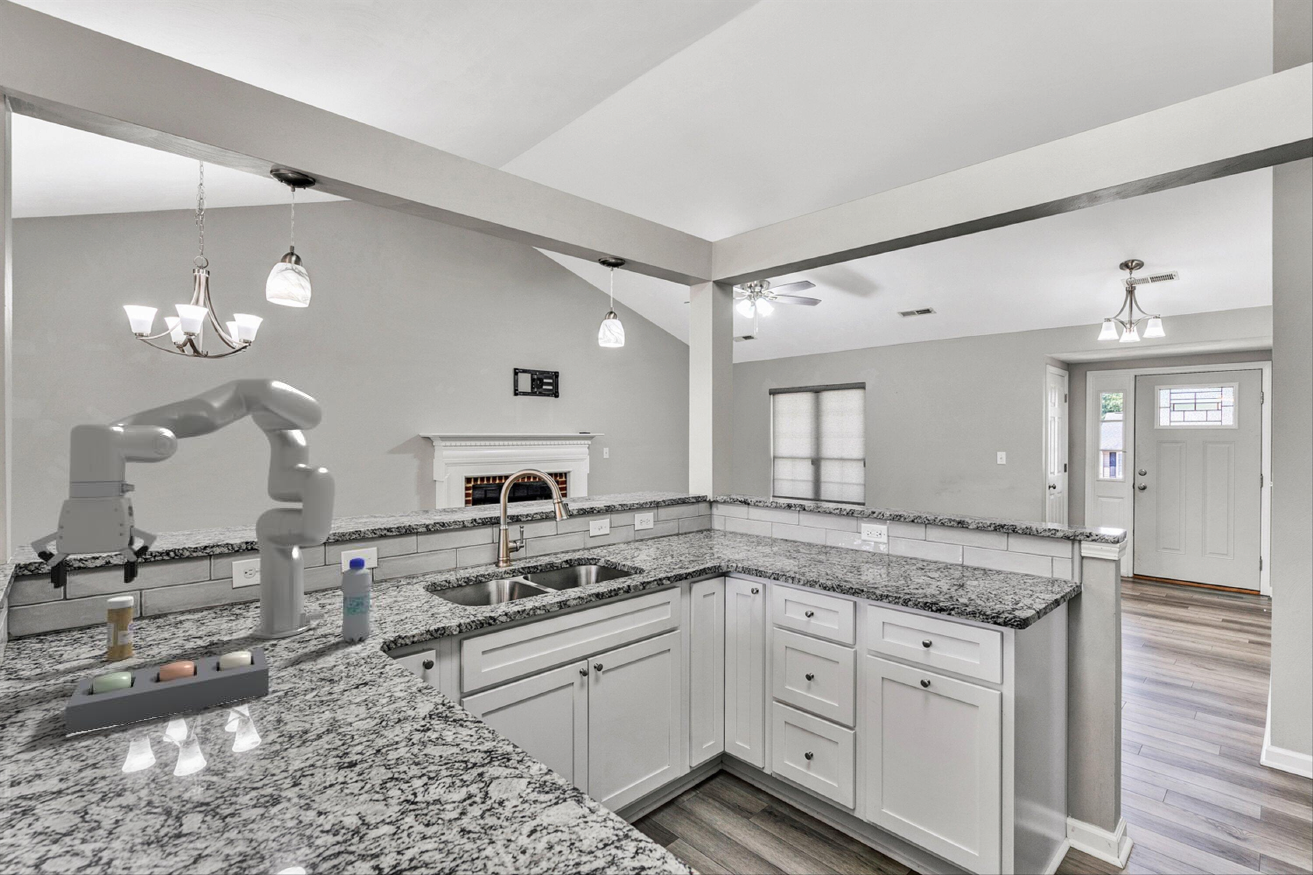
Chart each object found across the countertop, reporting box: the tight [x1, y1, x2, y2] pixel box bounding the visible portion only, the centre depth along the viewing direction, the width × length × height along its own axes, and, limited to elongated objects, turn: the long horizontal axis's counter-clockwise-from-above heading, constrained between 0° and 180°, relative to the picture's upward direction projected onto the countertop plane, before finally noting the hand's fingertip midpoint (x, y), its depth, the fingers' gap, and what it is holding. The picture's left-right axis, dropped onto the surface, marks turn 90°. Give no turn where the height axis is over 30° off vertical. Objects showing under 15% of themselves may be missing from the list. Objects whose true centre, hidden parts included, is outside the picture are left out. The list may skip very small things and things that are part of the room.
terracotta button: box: [160, 660, 194, 682], centre depth 112 cm, size 5×5×4 cm
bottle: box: [341, 557, 373, 643], centre depth 147 cm, size 7×7×20 cm
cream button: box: [220, 650, 251, 671], centre depth 117 cm, size 5×5×4 cm
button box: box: [65, 648, 270, 735], centre depth 112 cm, size 28×14×5 cm, turn 127°
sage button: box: [93, 671, 131, 695], centre depth 106 cm, size 5×5×4 cm
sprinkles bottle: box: [105, 595, 135, 662], centre depth 134 cm, size 5×5×14 cm
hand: (95, 584), depth 109 cm, fingers open, 9 cm apart
